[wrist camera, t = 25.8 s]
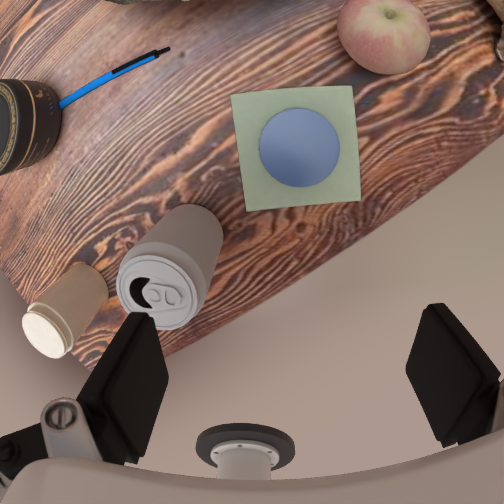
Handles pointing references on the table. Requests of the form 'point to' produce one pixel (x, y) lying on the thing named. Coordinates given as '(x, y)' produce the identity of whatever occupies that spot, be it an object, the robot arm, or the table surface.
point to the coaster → (263, 109)
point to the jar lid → (299, 147)
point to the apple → (384, 34)
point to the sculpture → (503, 6)
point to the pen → (111, 76)
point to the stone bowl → (130, 1)
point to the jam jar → (65, 310)
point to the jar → (26, 123)
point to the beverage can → (172, 267)
